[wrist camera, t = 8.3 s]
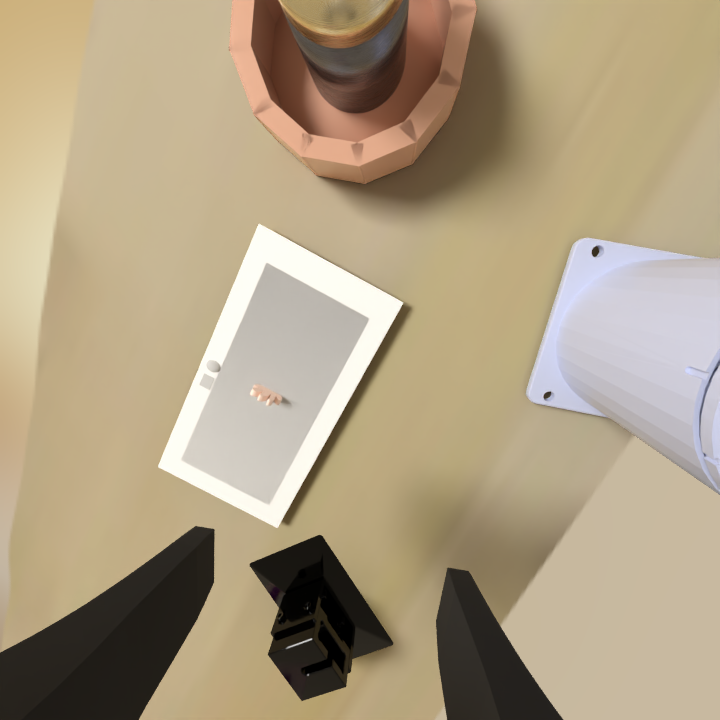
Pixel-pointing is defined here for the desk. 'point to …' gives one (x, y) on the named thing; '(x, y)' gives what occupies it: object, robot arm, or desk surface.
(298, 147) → the peach round shallow bowl
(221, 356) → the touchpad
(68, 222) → the desk surface
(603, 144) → the desk surface
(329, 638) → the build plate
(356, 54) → the battery
